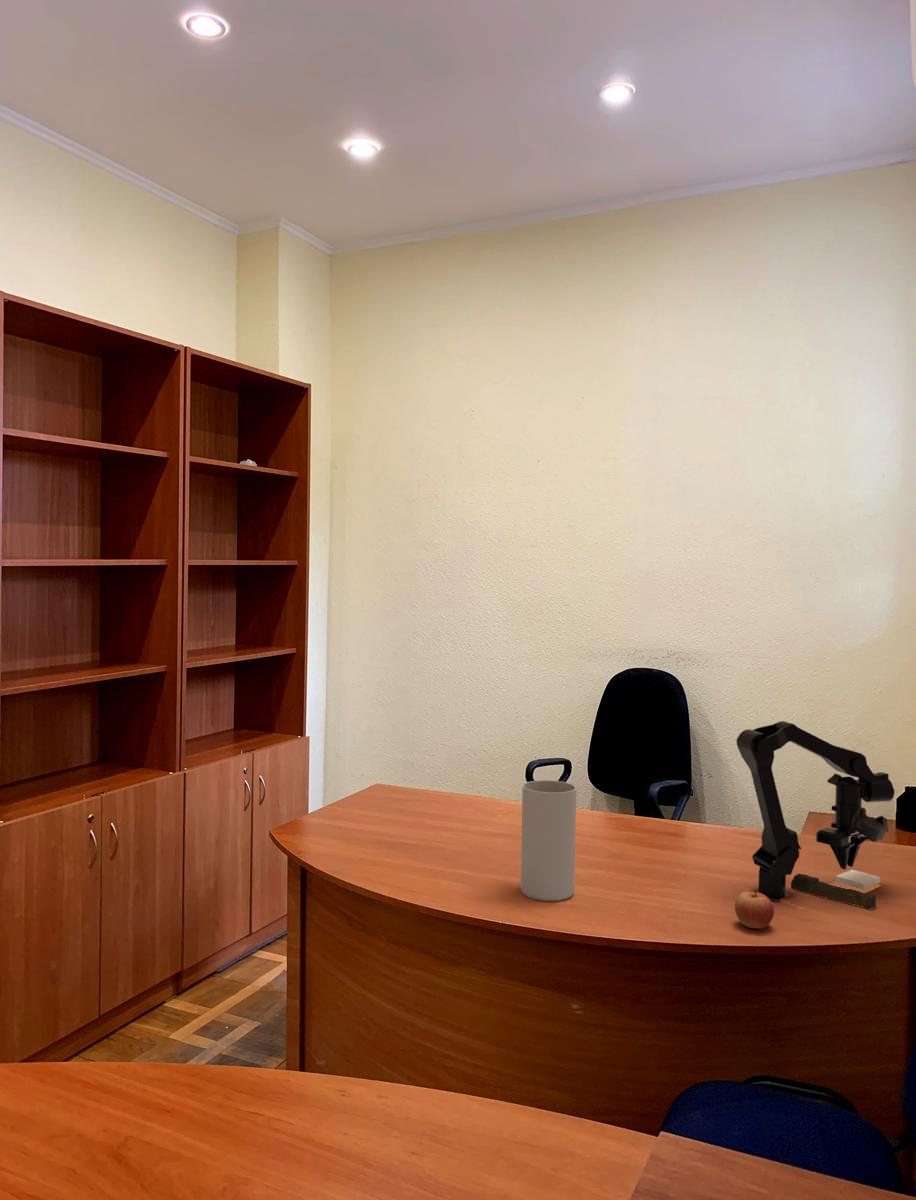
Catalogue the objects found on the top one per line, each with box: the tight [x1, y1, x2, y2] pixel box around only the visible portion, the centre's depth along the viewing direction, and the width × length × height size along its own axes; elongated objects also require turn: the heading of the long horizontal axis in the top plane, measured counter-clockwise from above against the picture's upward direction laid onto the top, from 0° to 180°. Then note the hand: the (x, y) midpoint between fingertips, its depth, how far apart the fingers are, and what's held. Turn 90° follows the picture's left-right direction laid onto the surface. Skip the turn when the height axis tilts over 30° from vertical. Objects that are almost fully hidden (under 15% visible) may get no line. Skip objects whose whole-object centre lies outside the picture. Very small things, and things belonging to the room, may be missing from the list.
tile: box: [835, 869, 881, 890], centre depth 220 cm, size 2×7×8 cm
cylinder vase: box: [520, 779, 577, 902], centre depth 211 cm, size 12×12×25 cm
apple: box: [734, 888, 775, 930], centre depth 193 cm, size 8×8×8 cm
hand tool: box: [790, 873, 877, 910], centre depth 210 cm, size 19×4×5 cm, turn 44°
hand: (846, 867), depth 216 cm, fingers open, 3 cm apart
